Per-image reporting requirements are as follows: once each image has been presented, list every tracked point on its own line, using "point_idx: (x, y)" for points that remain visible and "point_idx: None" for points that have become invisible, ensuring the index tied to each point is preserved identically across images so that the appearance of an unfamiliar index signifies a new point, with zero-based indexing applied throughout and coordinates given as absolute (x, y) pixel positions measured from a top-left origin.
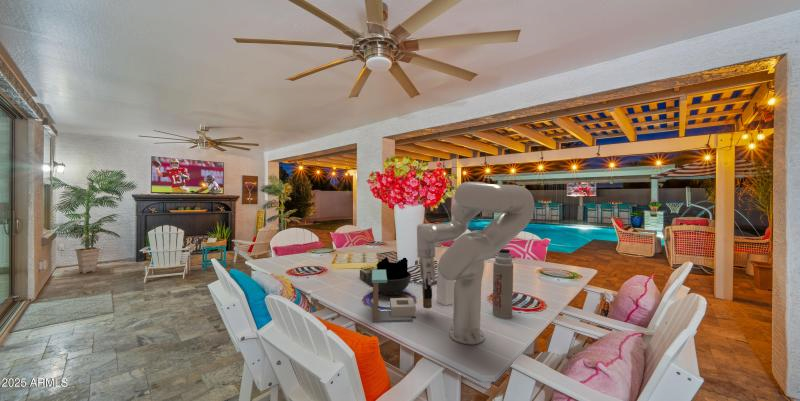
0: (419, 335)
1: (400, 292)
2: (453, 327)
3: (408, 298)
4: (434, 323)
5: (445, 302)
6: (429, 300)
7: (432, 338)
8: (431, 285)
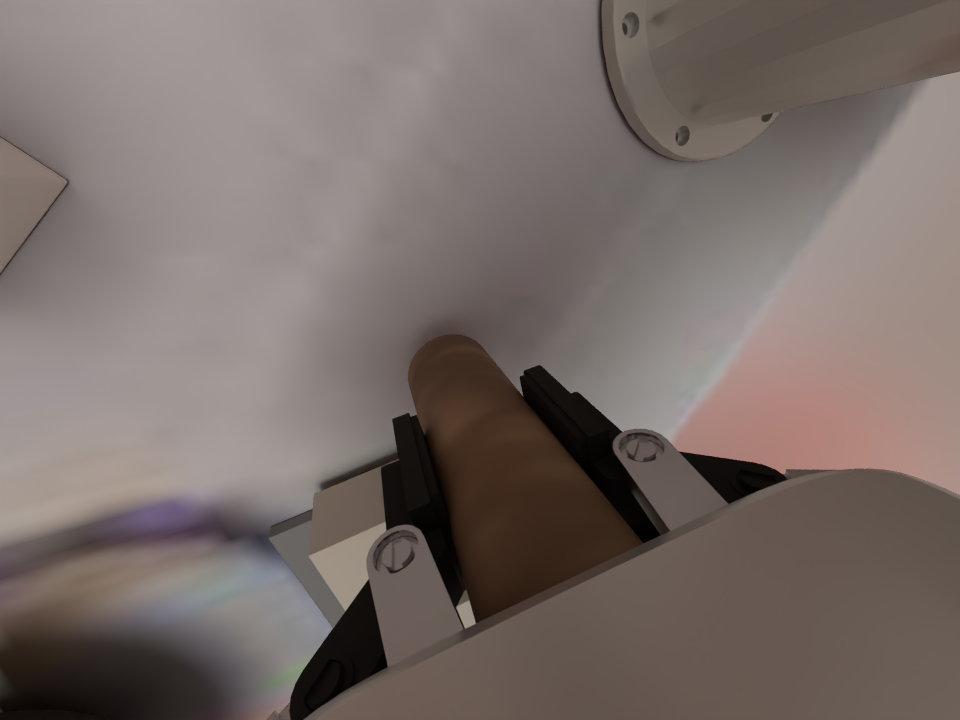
0: (681, 340)
1: (24, 711)
2: (748, 117)
3: (344, 576)
4: (544, 274)
5: (37, 182)
6: (510, 381)
7: (712, 266)
8: (696, 471)
